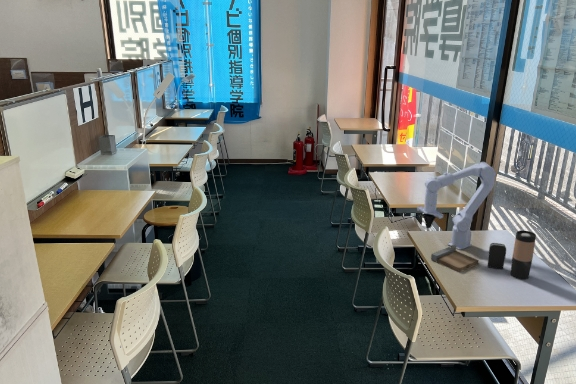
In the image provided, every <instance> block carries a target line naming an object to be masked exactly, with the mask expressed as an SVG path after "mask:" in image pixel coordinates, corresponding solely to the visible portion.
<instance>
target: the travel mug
mask: <svg viewBox="0 0 576 384" xmlns="http://www.w3.org/2000/svg"><path fill="white" fill-rule="evenodd" d="M536 238H537V235H536V233H535V232H532V231H529V230H523V229H522V230H517V231H516V234H515V239H514V244H513V245H514V246H513V252H512V258H511V267H510V275H511V277H512V278H514V279H517V280H527V279H529V277H530V273H531V268H532V263H533V259H534V258H533V257H534V251H535V246H536V245H535V244H536Z"/></svg>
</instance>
